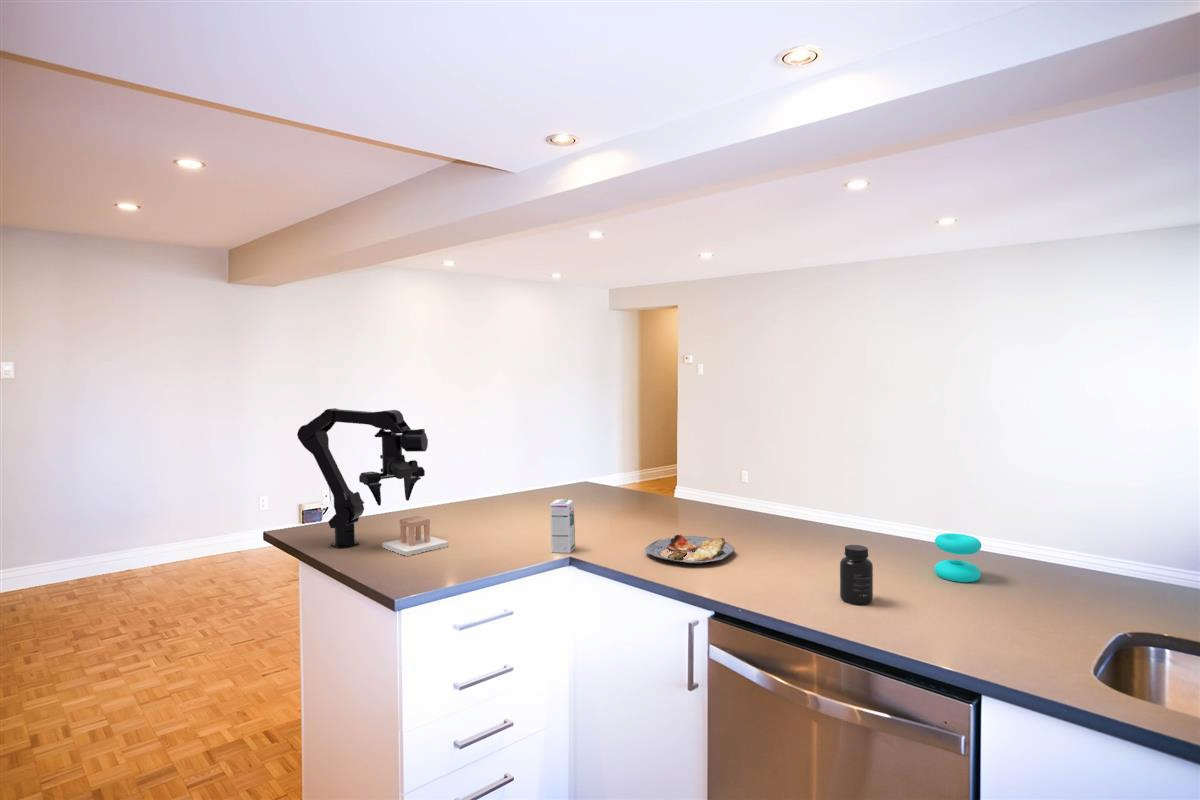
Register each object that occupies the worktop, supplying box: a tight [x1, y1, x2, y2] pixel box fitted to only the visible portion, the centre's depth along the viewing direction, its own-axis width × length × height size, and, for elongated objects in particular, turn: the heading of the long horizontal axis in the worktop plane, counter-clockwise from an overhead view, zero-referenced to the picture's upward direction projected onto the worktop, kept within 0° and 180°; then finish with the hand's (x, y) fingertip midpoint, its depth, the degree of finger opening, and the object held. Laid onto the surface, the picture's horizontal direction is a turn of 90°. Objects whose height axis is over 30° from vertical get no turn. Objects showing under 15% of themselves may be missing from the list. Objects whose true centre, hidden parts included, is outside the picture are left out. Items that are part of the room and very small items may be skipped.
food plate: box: [644, 534, 736, 565], centre depth 180 cm, size 25×23×4 cm
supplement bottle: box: [839, 544, 874, 606], centre depth 142 cm, size 7×7×12 cm
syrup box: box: [549, 498, 576, 554], centre depth 186 cm, size 6×6×14 cm
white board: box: [381, 533, 450, 557], centre depth 191 cm, size 14×14×2 cm
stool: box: [399, 515, 431, 546], centre depth 191 cm, size 6×6×7 cm
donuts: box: [934, 532, 982, 583], centre depth 157 cm, size 10×10×10 cm
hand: (393, 502), depth 194 cm, fingers open, 9 cm apart
